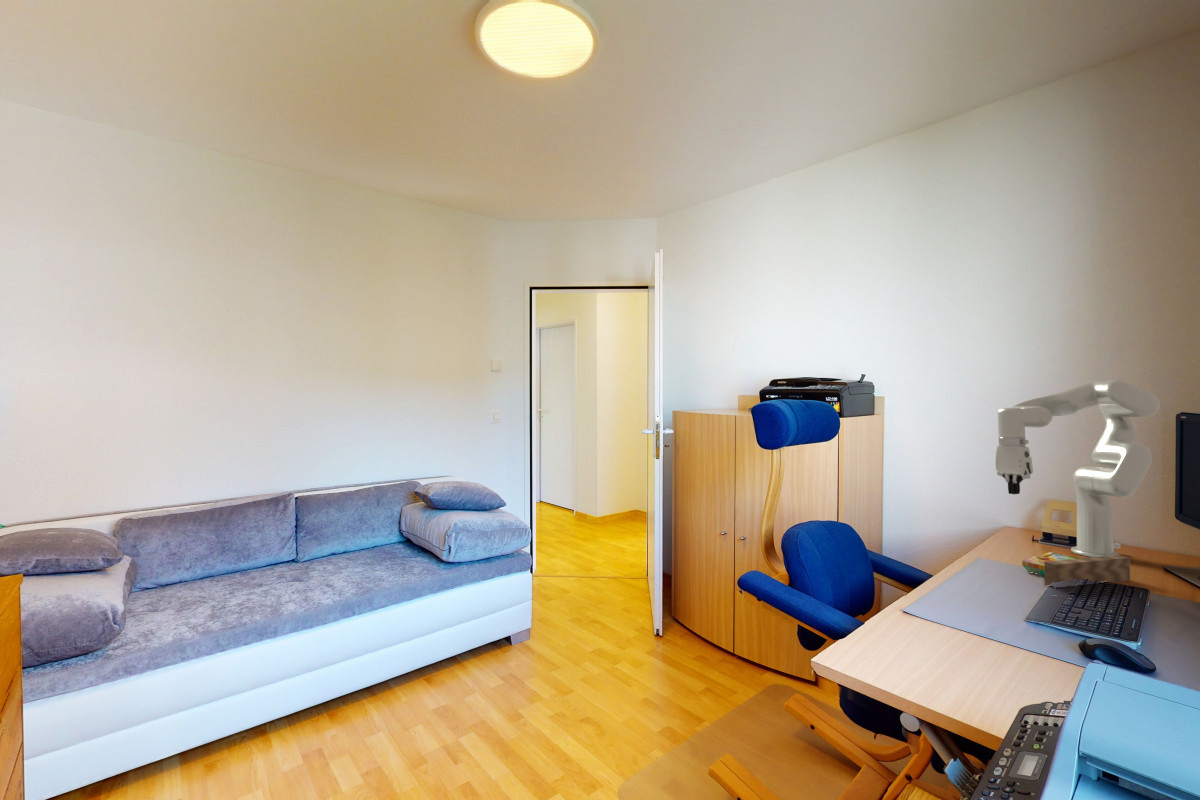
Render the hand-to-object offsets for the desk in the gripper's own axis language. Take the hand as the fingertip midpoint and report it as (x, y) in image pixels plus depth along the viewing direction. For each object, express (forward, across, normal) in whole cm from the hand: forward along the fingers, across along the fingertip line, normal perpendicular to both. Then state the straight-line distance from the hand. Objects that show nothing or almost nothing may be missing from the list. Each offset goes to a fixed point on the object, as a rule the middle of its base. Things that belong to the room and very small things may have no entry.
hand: (1014, 493), depth 186 cm
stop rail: (+22, -27, +8) cm, 36 cm away
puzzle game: (+23, -17, +5) cm, 29 cm away
